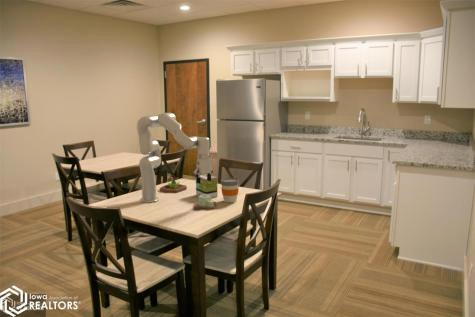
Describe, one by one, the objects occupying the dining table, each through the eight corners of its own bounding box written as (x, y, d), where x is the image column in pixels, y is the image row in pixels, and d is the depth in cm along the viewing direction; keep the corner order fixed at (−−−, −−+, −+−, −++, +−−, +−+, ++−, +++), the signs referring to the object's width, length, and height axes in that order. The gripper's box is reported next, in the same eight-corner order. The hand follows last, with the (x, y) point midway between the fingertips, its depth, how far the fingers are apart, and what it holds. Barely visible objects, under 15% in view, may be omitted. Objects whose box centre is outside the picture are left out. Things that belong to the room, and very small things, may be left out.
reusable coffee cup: (237, 203, 257) (236, 182, 254) (219, 203, 259) (218, 181, 257) (240, 199, 269) (240, 178, 266) (223, 198, 271) (223, 177, 269)
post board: (195, 203, 258) (195, 196, 257) (215, 203, 259) (215, 195, 258) (193, 209, 244) (193, 201, 243) (215, 209, 245) (215, 201, 244)
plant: (155, 192, 291) (154, 178, 290) (167, 186, 310) (167, 173, 308) (178, 194, 285) (178, 179, 283) (190, 188, 303) (189, 174, 302)
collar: (198, 204, 251) (198, 196, 250) (205, 203, 255) (205, 194, 254) (209, 208, 244) (208, 199, 243) (215, 206, 248) (215, 197, 247)
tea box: (195, 194, 281) (195, 175, 279) (207, 192, 287) (206, 173, 285) (206, 199, 269) (205, 178, 267) (218, 196, 275) (217, 177, 273)
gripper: (198, 158, 237) (198, 185, 240) (217, 155, 250) (217, 180, 253) (189, 157, 242) (190, 183, 245) (209, 154, 255) (209, 178, 258)
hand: (203, 181), depth 249 cm, fingers open, 9 cm apart
